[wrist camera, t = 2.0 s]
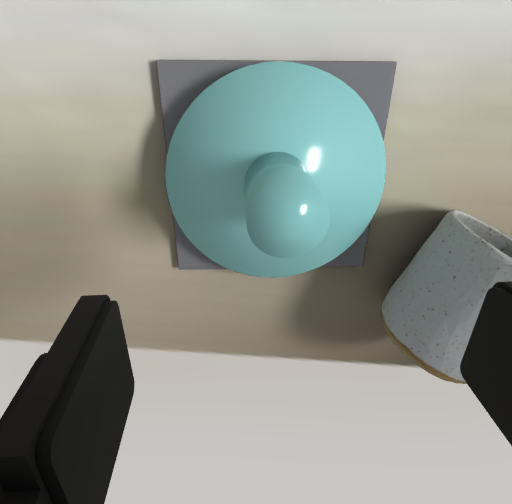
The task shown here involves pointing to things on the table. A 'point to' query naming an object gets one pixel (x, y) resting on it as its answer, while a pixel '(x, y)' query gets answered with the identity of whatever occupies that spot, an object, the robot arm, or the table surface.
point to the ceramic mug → (446, 292)
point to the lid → (275, 169)
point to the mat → (208, 71)
